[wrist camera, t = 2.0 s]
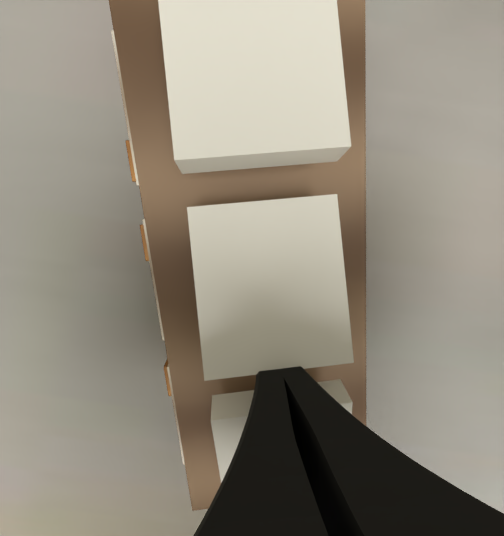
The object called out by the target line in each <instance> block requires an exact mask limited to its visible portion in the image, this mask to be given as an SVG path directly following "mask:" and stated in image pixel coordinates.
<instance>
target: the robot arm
mask: <svg viewBox="0 0 504 536" xmlns="http://www.w3.org/2000/svg"><path fill="white" fill-rule="evenodd" d="M194 536H504V514H503V513H501V512H500V511H498V510H496V509H494V508H492V507H490V506H488V505H487V504H485V503H483V502H481V501H480V500H478V499H476V498H474V497H473V496H471V495H469V494H467V493H466V492H464V491H462V490H460V489H459V488H457V487H455V486H454V485H452V484H450V483H449V482H447V481H446V480H444V479H442V478H441V477H439V476H437V475H436V474H434V473H432V472H431V471H429V470H428V469H426V468H424V467H423V466H421V465H420V464H418V463H417V462H415V461H414V460H412V459H411V458H409V457H408V456H406V455H405V454H403V453H402V452H400V451H399V450H398V449H396V448H395V447H393V446H392V445H390V444H389V443H388V442H386V441H385V440H383V439H382V438H381V437H379V436H378V435H377V434H375V433H374V432H373V431H371V430H370V429H369V428H368V427H366V426H365V425H364V424H363V423H362V422H360V421H359V420H358V419H357V418H355V417H354V416H353V415H352V414H351V413H350V412H348V411H347V410H346V409H345V408H344V407H343V406H342V405H341V404H339V403H338V402H337V401H336V400H335V399H334V398H333V397H332V396H331V395H330V394H328V393H327V392H326V391H325V390H324V389H323V388H322V387H321V386H320V385H319V384H318V383H317V382H316V381H315V380H314V379H313V378H312V377H311V376H310V375H309V374H308V373H307V372H306V370H305V369H303V368H302V367H301V366H298V367H290V368H282V369H274V370H265V371H259V372H258V373H257V374H256V382H255V389H254V394H253V398H252V402H251V406H250V410H249V414H248V417H247V420H246V423H245V426H244V429H243V432H242V435H241V438H240V440H239V443H238V446H237V448H236V451H235V453H234V456H233V458H232V461H231V463H230V465H229V467H228V470H227V472H226V474H225V476H224V479H223V481H222V483H221V485H220V487H219V489H218V491H217V493H216V495H215V497H214V499H213V501H212V503H211V505H210V507H209V509H208V511H207V513H206V514H205V516H204V518H203V520H202V522H201V524H200V525H199V527H198V529H197V531H196V533H195V534H194Z"/></svg>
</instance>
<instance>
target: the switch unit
mask: <svg viewBox="0 0 504 536" xmlns="http://www.w3.org/2000/svg"><path fill="white" fill-rule="evenodd" d="M109 5H110V11H111V17H112V23H113V29H114V30H113V31H111V33H112V39H113V45H114V51H115V57H116V63H117V69H118V75H119V81H120V87H121V93H122V99H123V106H124V112H125V118H126V124H127V130H128V136H129V140H127V141H126V146H127V152H128V158H129V164H130V170H131V176H132V181H133V182H136V184H137V186H139V188H140V194H141V200H142V206H143V212H144V218H145V219H142V220H143V224H142V225H140V229H141V235H142V241H143V247H144V253H145V259H146V261H149V262H150V268H151V274H152V280H153V286H154V292H155V298H156V305H157V311H158V317H159V323H160V329H161V335H162V340H165V346H166V352H167V361H166V363H165V365H164V372H165V378H166V384H167V390H168V395H169V396H172V401H173V407H174V413H175V419H176V425H177V431H178V437H179V443H180V449H181V455H182V461H183V464H185V468H186V474H187V480H188V486H189V492H190V498H191V504H192V511H194V510H201V509H207V508H209V507H210V505H211V503H212V501H213V499H214V497H215V495H216V493H217V491H218V489H219V487H220V485H221V479H220V473H219V467H218V461H217V455H216V449H215V444H214V438H213V432H212V426H211V406H212V395H218V394H226V393H234V392H242V391H250V390H254V389H255V382H256V375H249V376H241V377H232V378H224V379H216V380H208V381H204V372H203V362H202V352H201V342H200V332H199V322H198V313H197V303H196V293H195V283H194V273H193V263H192V253H191V243H190V233H189V223H188V213H187V207H194V206H206V205H217V204H229V203H240V202H251V201H263V200H274V199H286V198H297V197H308V196H320V195H331V194H337V198H338V208H339V218H340V228H341V238H342V248H343V258H344V268H345V278H346V288H347V298H348V308H349V318H350V328H351V338H352V348H353V358H354V363H348V364H340V365H331V366H323V367H315V368H307V369H305V370H306V372H307V373H308V374H309V375H310V376H311V377H312V378H313V379H314V380H315V381H316V382H323V381H331V380H339V379H341V381H342V383H343V385H344V387H345V389H346V391H347V393H348V395H349V396H350V398H351V400H352V402H353V404H352V415H353V416H354V417H355V418H357V419H358V420H359V421H360V422H362V423H363V424H364V425H365V426H366V127H365V0H337V8H338V18H339V28H340V38H341V48H342V58H343V68H344V78H345V88H346V98H347V108H348V118H349V128H350V138H351V147H350V148H349V149H348V150H347V152H346V153H345V154H344V155H343V156H342V157H341V158H340V159H339V160H338V161H336V162H324V163H312V164H299V165H287V166H275V167H263V168H250V169H238V170H226V171H213V172H201V173H189V174H182V173H181V171H180V169H179V168H178V166H177V164H176V162H175V161H174V153H173V143H172V133H171V123H170V113H169V103H168V93H167V83H166V73H165V64H164V54H163V44H162V34H161V24H160V14H159V4H158V0H109Z"/></svg>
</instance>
